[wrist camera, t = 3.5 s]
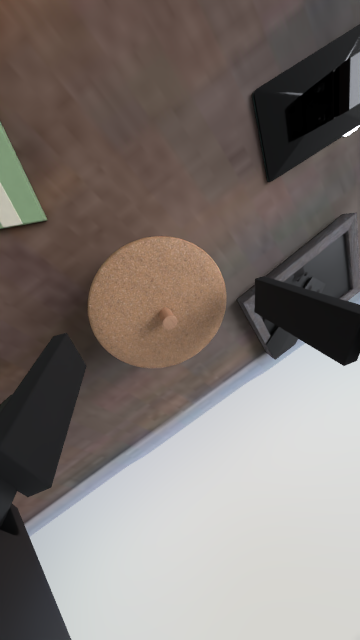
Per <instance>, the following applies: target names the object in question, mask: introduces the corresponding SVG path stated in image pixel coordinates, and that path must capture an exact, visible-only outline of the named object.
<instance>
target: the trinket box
mask: <svg viewBox="0 0 360 640" xmlns="http://www.w3.org/2000/svg"><path fill="white" fill-rule="evenodd" d="M225 308H226V288H225V283H224V280H223V277H222V274H221V272H220V270H219V268H218V266H217V265H216V263H215V262H214V261H213V259H212V258H211V257H210V256H209V255H208V254H207V253H206V252H205V251H204V250H202V249H201V248H199V247H198V246H196V245H194V244H193V243H190V242H188V241H185V240H183V239H179V238H174V237H168V236H154V237H147V238H142V239H139V240H136V241H133V242H130V243H128V244H127V245H125V246H123V247H121V248H119V249H118V250H117V251H116V252H114V253H113V254H112V255H111V256H109V258H108V259H107V260H106V261H105V262H104V263H103V264H102V266H101V267H100V269H99V270H98V272H97V274H96V275H95V277H94V279H93V282H92V285H91V287H90V290H89V296H88V317H89V322H90V325H91V328H92V330H93V333H94V335H95V336H96V338H97V340H98V341H99V343H100V344H101V345H102V346H103V347H104V348H105V349H106V350H107V351H108V352H109V353H110V354H112V355H113V356H114V357H116V358H118V359H119V360H121V361H123V362H125V363H128V364H131V365H134V366H138V367H143V368H162V367H168V366H172V365H175V364H179V363H181V362H183V361H185V360H187V359H189V358H191V357H193V356H194V355H196V354H197V353H198V352H200V351H201V350H202V349H203V348H204V347H205V346H206V345H207V344H208V343H209V342H210V341H211V340H212V338H213V337H214V336H215V334H216V332H217V331H218V329H219V327H220V325H221V322H222V320H223V317H224V313H225Z"/></svg>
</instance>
